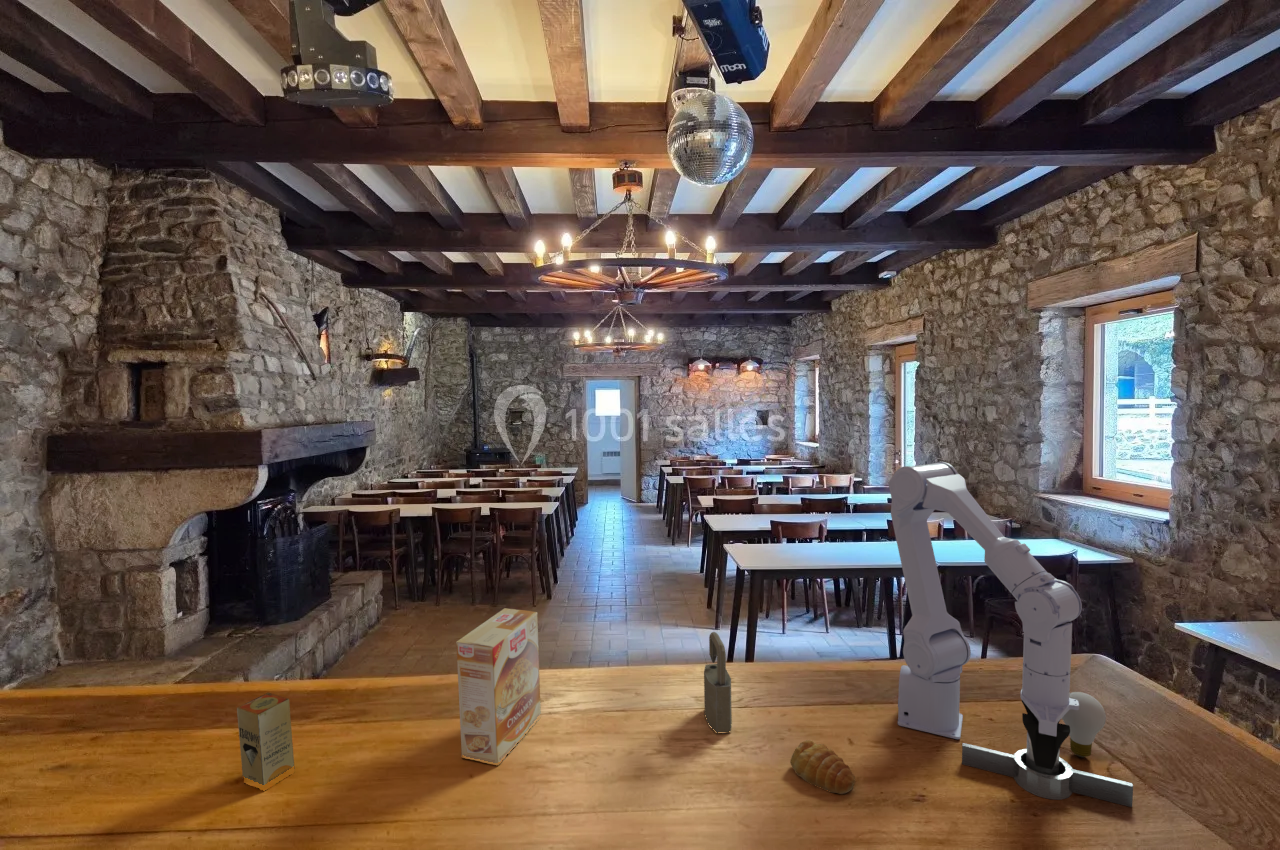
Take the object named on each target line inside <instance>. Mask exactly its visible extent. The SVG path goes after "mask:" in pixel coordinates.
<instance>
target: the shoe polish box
mask: <svg viewBox="0 0 1280 850" xmlns="http://www.w3.org/2000/svg"><path fill="white" fill-rule="evenodd" d="M290 707H291V705H290V698H287V697H284V696H281V695H277V694H274V693H272V692H267V693H264V694H263V695H260V696H258V697H256V698H254V699H252V700H250V701H248V702H246V703H244V704H241V705H240V706H238V707H236V712H237V713H236V715H237V726H238V737H239V738H238V739H239V746H240V747H239V749H240V758H241V759H240V760H241V761H240V762H241V770H242V777H243V776H244V777H245V778H248V779H250V780H253V781H254V782H258V783H259V784H262V785H265V784H267V783H268V782H270V781H271V780H273V779H275V778H276V777H278V776H279V775H281V774H283V773H284V772H286V771H287V770H289V769H291V768H292V767H293V766H294V767H295V758H294V748H293V747H294V746H293V735H292V731H293V730H292V720H291V708H290Z"/></svg>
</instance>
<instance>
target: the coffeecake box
mask: <svg viewBox="0 0 1280 850" xmlns="http://www.w3.org/2000/svg"><path fill="white" fill-rule="evenodd" d="M538 620H539V619H538V612H537V611H532V610H524V609H515V608H505V607H504V608H503V609H501V610H500V611H498V612H497V613H495V614H494V615H493V616H491V617H490V618H489V619H487V620H486V621H484V622H483V623H481V624H480V625H478V626H477V627H475V628H474V629H472V630H471V631H469V632H468V633H466V635H464V636H463V637H461V638H460V639H458V640H457V641H456V642H455V643H456V655H457V656H456V659H457V662H456V664H457V683H458V701H459V704H458V705H459V707H458V708H459V726H460V728H459V729H460V730H459V731H460V744H461V745H460V747H461V748H460V750H461V756H462V755H464V756H466V757H470V758H474V759H480V760H484V761H488V762H493V763H498V762H500V761H501V759H502V758H503V757H504V756H505V755H506V754H507V753H508V752H509V751H510V750H511V749H512V748H513V747H514V746H515V744H516V743H517V742H518V741H519V740H520V738H521V737H522V736H523V735H524V733H525V732H526V731H527V730H528V729H529V727H530V726H531V725H532V724H533V723H534V721H535V720H536V719H537V717H538V716H539V715H540V714H541V715H542V709H541V686H540V685H541V684H540V681H541V680H540V678H541V677H540V655H539V654H540V652H539V651H540V650H539V630H538V628H539V627H538V626H539V625H538V624H539V621H538Z"/></svg>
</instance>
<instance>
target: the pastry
mask: <svg viewBox="0 0 1280 850" xmlns="http://www.w3.org/2000/svg"><path fill="white" fill-rule="evenodd" d="M790 766H791V767H792V769H793V770H794V772H795V773H796V775H797V776H799V777H800V778H802V780H803V781H805V782H807V783H809V784H810V783H811V784H810V785H813V784H814V785H813V786H815V785H816V786H818V787H817V788H819V787H821V788H823V789H822V790H824V789H825V790H824V791H826V790H828V791H827V792H829V791H830V792H829V793H832V794H833V793H835V794H839V795H843V794H847V793H849V792H850V791H852V790H853V787H854V785H855V783H856V779H855V775H854V774H853V772H852V770H851V769H850V767H849V765H848V764H846V763H845V761H844V759H843V758H842V757H840V756H839V755H838V754H837V753H836V752H835V751H834V750H833V749H829V747H828V746H826V745H825V744H824V743H820V744H817V743H816V742H814V741H813V740H811V739H806V740H804V741H802V742H800V743H799V744H798V746H797V747H795V749H794V751H793V753H792V755H791V758H790ZM816 786H815V787H816ZM821 788H820V789H821Z"/></svg>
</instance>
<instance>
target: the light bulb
mask: <svg viewBox="0 0 1280 850" xmlns="http://www.w3.org/2000/svg"><path fill="white" fill-rule="evenodd" d="M1069 698H1072V699H1076V700H1078V702H1079V710H1072V709H1070V710H1069V711H1068V712H1067V713H1066V714H1065V715H1064V716H1063V717H1062V718H1061V720H1062V721H1063V722H1064V723H1063V724H1065V725H1069V726H1070V734H1069V736H1068V737H1070V738H1069V744H1070V752H1072V753H1073V754H1074V755H1076V756H1077V757H1078V758H1081V759H1082V758H1086V757H1090V756H1091V755H1092V746H1093V743H1094V741H1095V739H1096V736H1097V735H1098V733H1099V732H1100V731H1102V729H1103V728H1104V727H1105V725H1106V722H1107V717H1106V714H1107V713H1106V712H1105V708H1104V707H1103V705H1102V704H1101V702H1100V701H1099V700H1098V699H1096V698H1095V696H1093V695H1091V694H1088V693H1086V692H1082V691H1072V692H1070V693H1069Z"/></svg>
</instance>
